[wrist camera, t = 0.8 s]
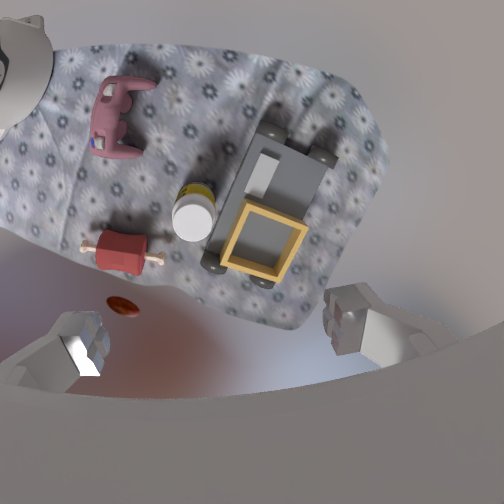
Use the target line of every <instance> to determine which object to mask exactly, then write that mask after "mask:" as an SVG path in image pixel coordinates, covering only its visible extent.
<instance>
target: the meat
mask: <svg viewBox="0 0 504 504" xmlns="http://www.w3.org/2000/svg"><path fill="white" fill-rule="evenodd" d="M146 248H147V238H146V236H145V235H128V234H121V233H117V232H114V231H111V230H108V229H106V230H105V231H104V232H103V233H102V234H101V236H100V237H99V240H98V243H97V245H94V244H88V242H87V240H83V241H82V244H81V246H80V251H81V252H83V253H85V252H86V251H87V250H89V251H95V252H96V263H97V266H98V268H99V269H101V270H118V271H125V272H128V273H131V274H134V275H137V276H139V275H141V273H142V270H143V267H144V263H145V259H146V260H153V261H158V263H159V264H160V265H163V264H164V263H165V262H166V257H167V256H166V254H165V252H161V253H159V254H152V253H146Z"/></svg>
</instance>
